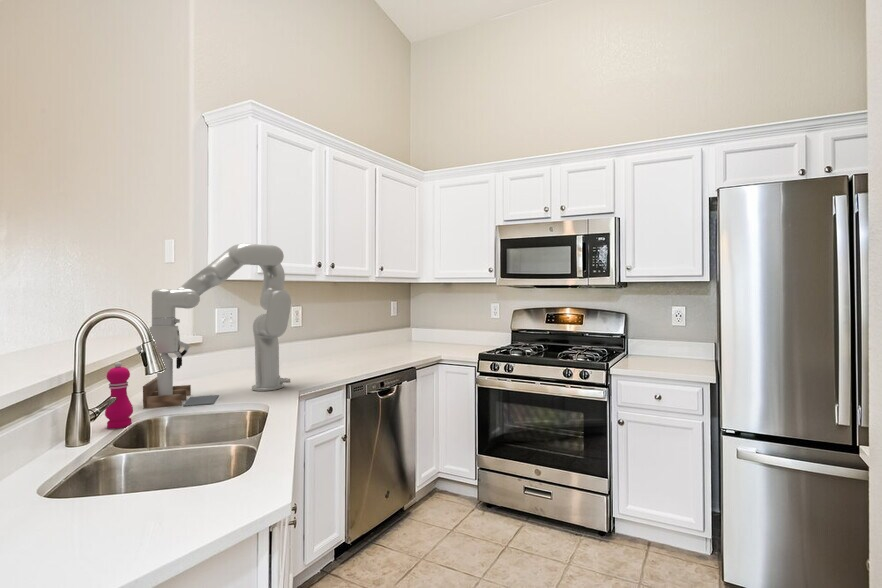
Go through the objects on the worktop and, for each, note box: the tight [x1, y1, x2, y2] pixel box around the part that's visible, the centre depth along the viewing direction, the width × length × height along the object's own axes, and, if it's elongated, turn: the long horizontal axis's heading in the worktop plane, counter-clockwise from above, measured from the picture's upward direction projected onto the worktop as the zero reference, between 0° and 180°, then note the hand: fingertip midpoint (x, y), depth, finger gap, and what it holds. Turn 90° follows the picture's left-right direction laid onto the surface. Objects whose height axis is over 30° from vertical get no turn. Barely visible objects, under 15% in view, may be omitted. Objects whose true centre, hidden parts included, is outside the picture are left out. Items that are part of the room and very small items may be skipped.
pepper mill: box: [104, 361, 134, 430], centre depth 146 cm, size 7×7×20 cm
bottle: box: [156, 353, 174, 396], centre depth 173 cm, size 5×5×25 cm
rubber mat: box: [182, 394, 220, 408], centre depth 177 cm, size 10×14×1 cm
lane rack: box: [142, 376, 192, 410], centre depth 178 cm, size 12×19×8 cm, turn 18°
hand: (163, 368), depth 173 cm, fingers open, 9 cm apart
